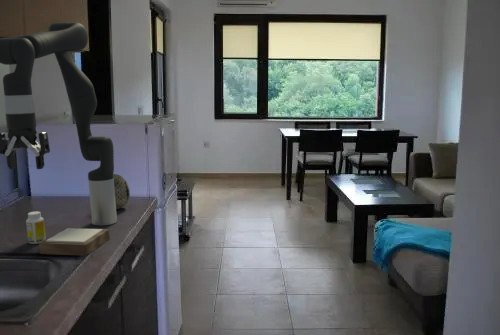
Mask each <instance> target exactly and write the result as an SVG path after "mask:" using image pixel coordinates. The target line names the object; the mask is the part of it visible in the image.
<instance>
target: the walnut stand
mask: <svg viewBox="0 0 500 335" xmlns="http://www.w3.org/2000/svg"><path fill="white" fill-rule="evenodd" d="M110 237H111V236H110V229H109V228H108V229H106V228H73V227H71V228H70V227H69V228H68V227H65V228H63V229H61V230H60V231H59V232H56V233H55V234H53V235H51V236H49V237H47V238H46V240H44V241H42V242H40V243H38V245H39V247H38V248H39V255H40V254H41V255H59V256H60V255H61V256H62V255H63V256H65V255H66V256H84V255H87V254H89V253H90V254H92V253H93V252H94V251H95V250H97V249H99V248H100V247H101V246H103V245H104V244H105V243H107V242H108V241H109V240H110ZM90 254H89V255H90ZM87 256H88V255H87Z"/></svg>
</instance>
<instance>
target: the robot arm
mask: <svg viewBox="0 0 500 335" xmlns="http://www.w3.org/2000/svg"><path fill="white" fill-rule="evenodd" d="M88 35H89V34H88V31H87V29H86V27H85V26H84V25H83V24H81V23H79V22H76V21H75V22H74V21H72V22H71V21H69V22H55V23H52V24H50V26H49V29H48V31H39V32H33V33H28V34H25V35H22V36H12V37H2V38H0V64H1V65H4V66H6V65H9V66H10V65H15V69H14V71H13V72H10V73H7V74H5V75H3V77H2V85H3V93H4V94H3V96H4V113H5V121H6V128H7V130H8V132H5V131H3V132H0V155H4V156H5V157H6V163H7V167H8V169H9V170H15V169H16V168H17V164H16V163H17V162H16V156H15V153H16V151H17V150H18V149H29V150H30V151H32V153H33V154H34V155H35V165H36V166H35V167H36V170H41V169H44V167H45V155H46V154H49V153H50V152H51V150H50V142H49V136H48V132H47V131H43V132H37V130H36V129H37V118H36V109H35V108H36V107H35V102H34V97H33V96H34V95H33V91H32V90H33V88H32V81H31V80H32V77H33V76H32V75H33V69H34V64H35V61H36V59H39V58H43V57H46V56H49V55H53V54H54V55H55V58H56V61H57V63H58V67H59V69H60V72H61V75H62V79H63V82H64V85H65V90H66V94H67V98H68V102H69V105H70V108H71V112H72V115H73V119H74V123H75V125H76V126H75V127H76V131H77V135H78V136H77V137H78V143H79V149H80V152H81V156H82V157H83V159H84V160H85V161H88V162H100V164H99V167H97V168H95V169H93V170H90V171H88V172H87V173H88V174H87V179H88V190H89V202H90V204H89V205H90V215H91V224H92V225H93V226H101V227H102V226H109V225H113V224H115V223H116V222H118V221H117V218H118V217H117V215H118V214H117V209H116V201H115V189H114V176H113V174H115V173H114V172H115V162H114V160H115V159H114V157H115V156H114V154H115V153H114V152H115V151H114V143H113V140H112V139H111V137H109V136H93V135H92V131H91V123H92V120H93V117H94V115H95V112H96V109H97V107H98V99H97V95H96V92H95V88H94V85H93V83H92V81H91V80H90V79H89V77H88V76H87V75H86V74H85V73H84V72H83V71H82V70H81V69H80V68H79V67H78V65H77V64H76V62H75V61H74V59H73V56H72V53H71V52H77V51H78V52H79V51H83V50H84V49H85V48H86V47H87V45H88V42H89V36H88ZM9 140H10V142H9ZM37 140H38V141H39V142H38V141H37ZM8 142H9V143H8Z"/></svg>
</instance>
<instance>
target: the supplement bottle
mask: <svg viewBox="0 0 500 335" xmlns="http://www.w3.org/2000/svg"><path fill="white" fill-rule="evenodd" d="M25 225H26V232H27V240H28V243H29V244H31V245H37V244H38V245H39V243H40V242H42V241H44V240H46V239H47V237H46V236H47V235H46V228H45V219H44V217H43V216H42V214H41V211H37V210H36V211H30V212H27V219H26V220H25Z"/></svg>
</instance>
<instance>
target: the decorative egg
mask: <svg viewBox="0 0 500 335" xmlns="http://www.w3.org/2000/svg"><path fill="white" fill-rule="evenodd" d="M113 176H114V189H115V201H116V210H120V209H123V208H124V207H125V206H127V204H128V202H129V200H130V196H131V194H130V192H131V191H130V187H129V184H128V181H127V180H126V179H125V178H124V177H123V176H122V175H120V174H118V173H117V174H116V173H113Z"/></svg>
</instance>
